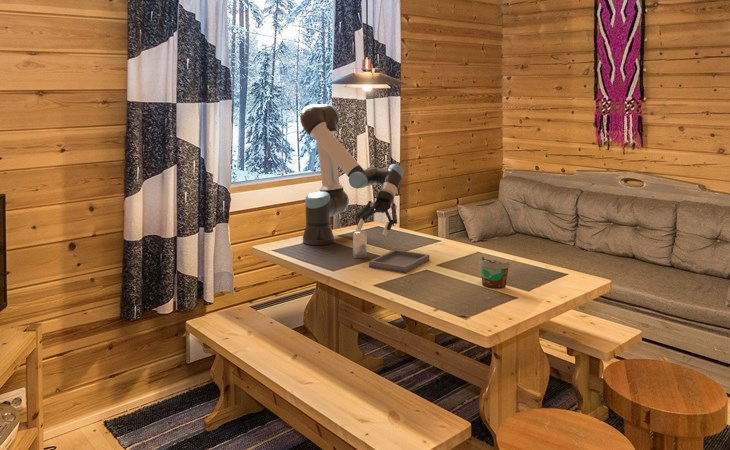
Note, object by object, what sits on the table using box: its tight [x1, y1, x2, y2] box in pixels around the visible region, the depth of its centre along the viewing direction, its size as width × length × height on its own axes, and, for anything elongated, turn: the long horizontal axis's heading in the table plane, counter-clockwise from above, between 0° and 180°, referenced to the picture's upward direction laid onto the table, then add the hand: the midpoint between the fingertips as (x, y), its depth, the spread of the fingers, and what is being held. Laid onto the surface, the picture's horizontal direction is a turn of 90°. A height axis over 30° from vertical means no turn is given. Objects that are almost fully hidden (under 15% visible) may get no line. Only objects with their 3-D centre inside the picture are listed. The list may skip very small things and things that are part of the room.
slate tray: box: [368, 249, 430, 274], centre depth 266 cm, size 17×22×2 cm
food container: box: [478, 256, 511, 290], centre depth 235 cm, size 12×6×10 cm, turn 45°
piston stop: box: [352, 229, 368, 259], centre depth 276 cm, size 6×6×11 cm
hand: (370, 234), depth 279 cm, fingers open, 13 cm apart
